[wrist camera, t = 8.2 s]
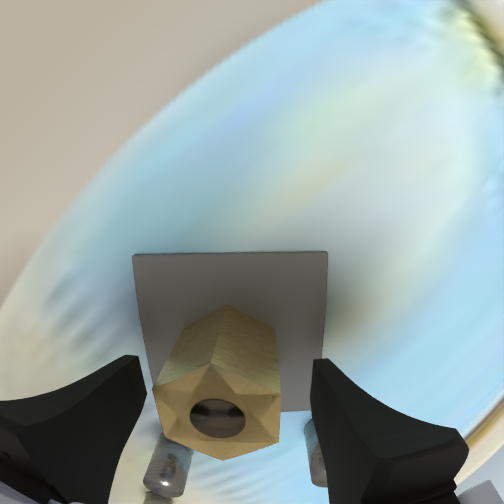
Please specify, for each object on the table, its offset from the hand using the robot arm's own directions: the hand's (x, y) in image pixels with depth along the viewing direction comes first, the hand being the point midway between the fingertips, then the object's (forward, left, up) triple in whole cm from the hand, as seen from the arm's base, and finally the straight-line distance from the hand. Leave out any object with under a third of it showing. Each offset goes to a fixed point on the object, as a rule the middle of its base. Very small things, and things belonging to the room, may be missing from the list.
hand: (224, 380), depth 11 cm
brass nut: (0, 0, -3) cm, 3 cm away
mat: (0, 0, -3) cm, 3 cm away
